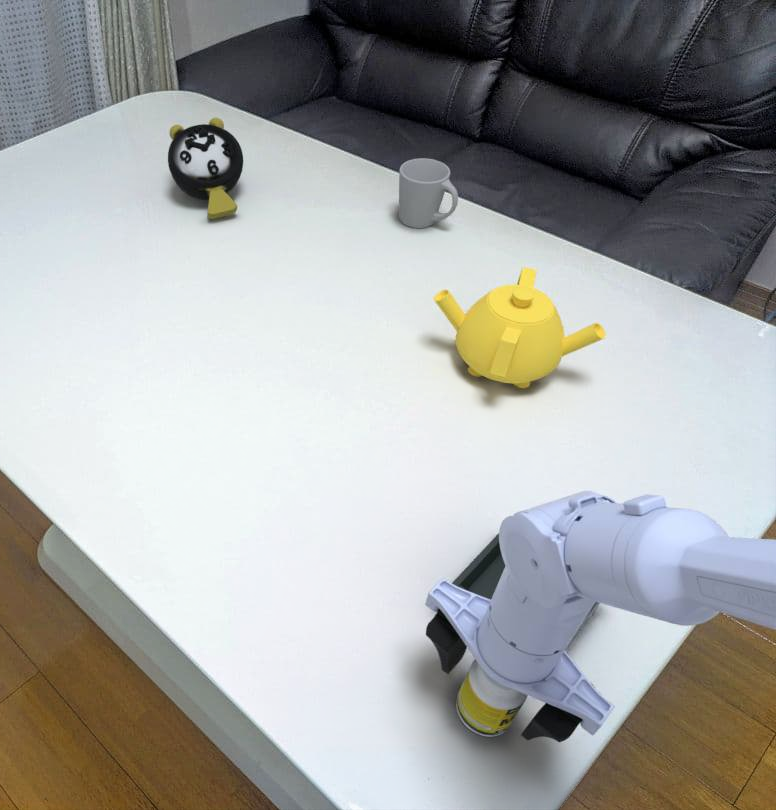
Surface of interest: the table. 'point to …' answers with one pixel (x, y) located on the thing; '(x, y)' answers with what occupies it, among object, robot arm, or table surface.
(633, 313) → the table surface
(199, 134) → the alarm clock
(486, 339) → the teapot
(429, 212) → the cup
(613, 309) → the table surface
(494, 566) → the storage tray
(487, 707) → the supplement bottle
